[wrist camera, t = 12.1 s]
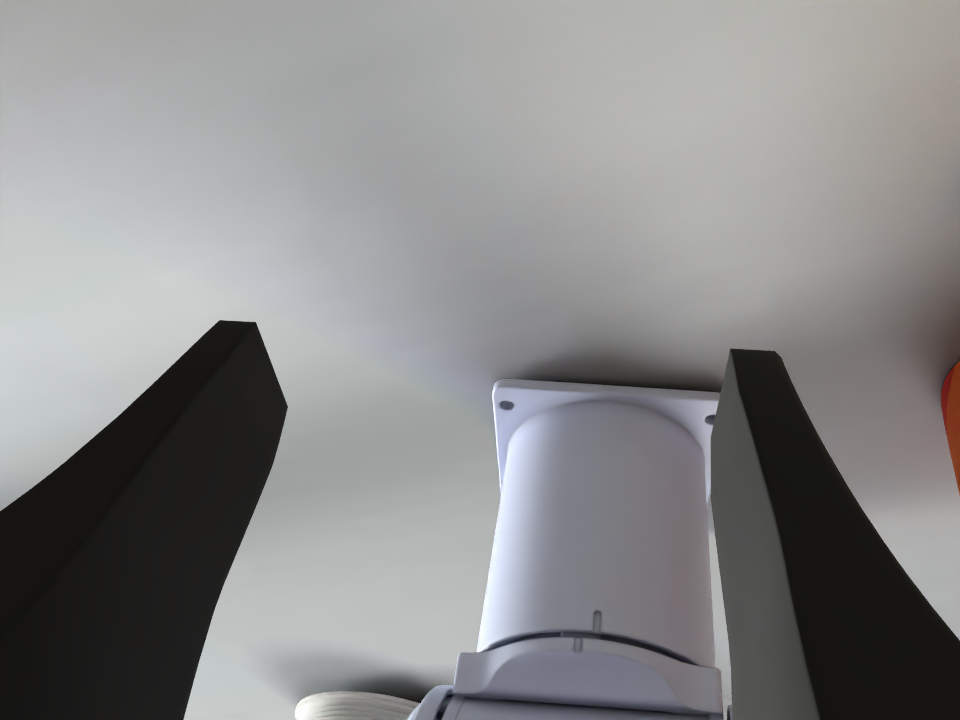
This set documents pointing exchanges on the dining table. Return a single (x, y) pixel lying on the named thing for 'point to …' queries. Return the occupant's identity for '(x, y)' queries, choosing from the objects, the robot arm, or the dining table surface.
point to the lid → (353, 706)
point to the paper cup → (952, 416)
